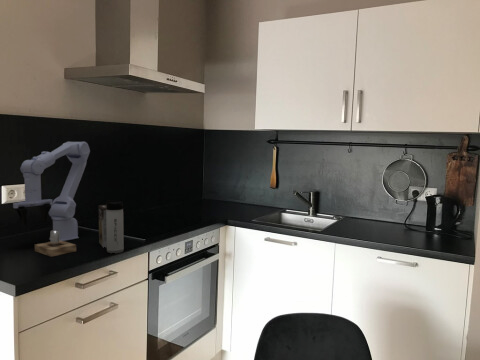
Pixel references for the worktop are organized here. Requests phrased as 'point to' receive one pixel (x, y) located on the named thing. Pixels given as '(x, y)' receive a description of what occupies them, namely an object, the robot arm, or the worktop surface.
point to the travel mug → (114, 226)
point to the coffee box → (102, 225)
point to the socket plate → (55, 248)
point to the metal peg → (55, 238)
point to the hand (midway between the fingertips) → (34, 224)
